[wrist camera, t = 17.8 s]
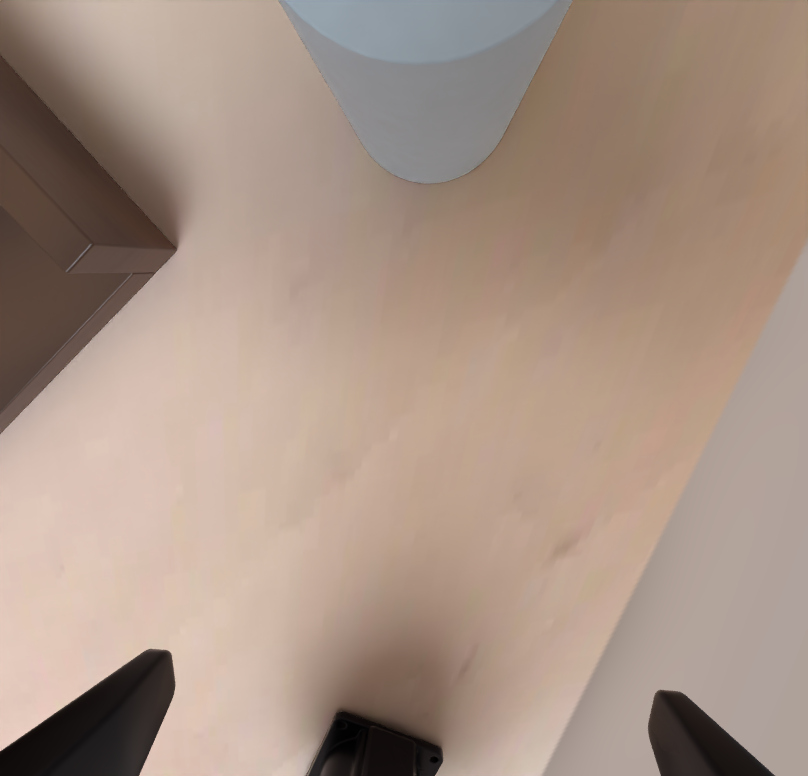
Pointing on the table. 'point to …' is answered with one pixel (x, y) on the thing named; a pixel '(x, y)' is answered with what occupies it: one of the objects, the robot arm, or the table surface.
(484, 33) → the pale blue cylinder
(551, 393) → the table surface
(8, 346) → the tray
